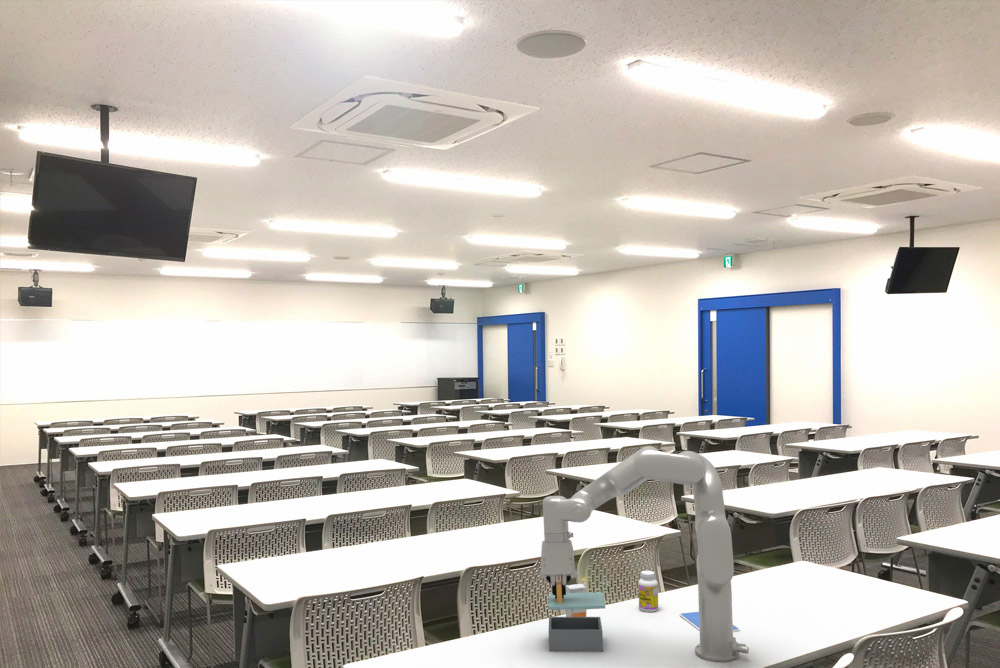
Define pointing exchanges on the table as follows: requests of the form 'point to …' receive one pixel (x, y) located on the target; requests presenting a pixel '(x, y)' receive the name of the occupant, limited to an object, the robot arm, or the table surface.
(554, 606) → the lid
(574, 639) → the tub
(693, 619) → the tablet computer
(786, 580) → the table surface
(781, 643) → the table surface
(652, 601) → the supplement bottle
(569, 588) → the skincare box
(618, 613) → the table surface
